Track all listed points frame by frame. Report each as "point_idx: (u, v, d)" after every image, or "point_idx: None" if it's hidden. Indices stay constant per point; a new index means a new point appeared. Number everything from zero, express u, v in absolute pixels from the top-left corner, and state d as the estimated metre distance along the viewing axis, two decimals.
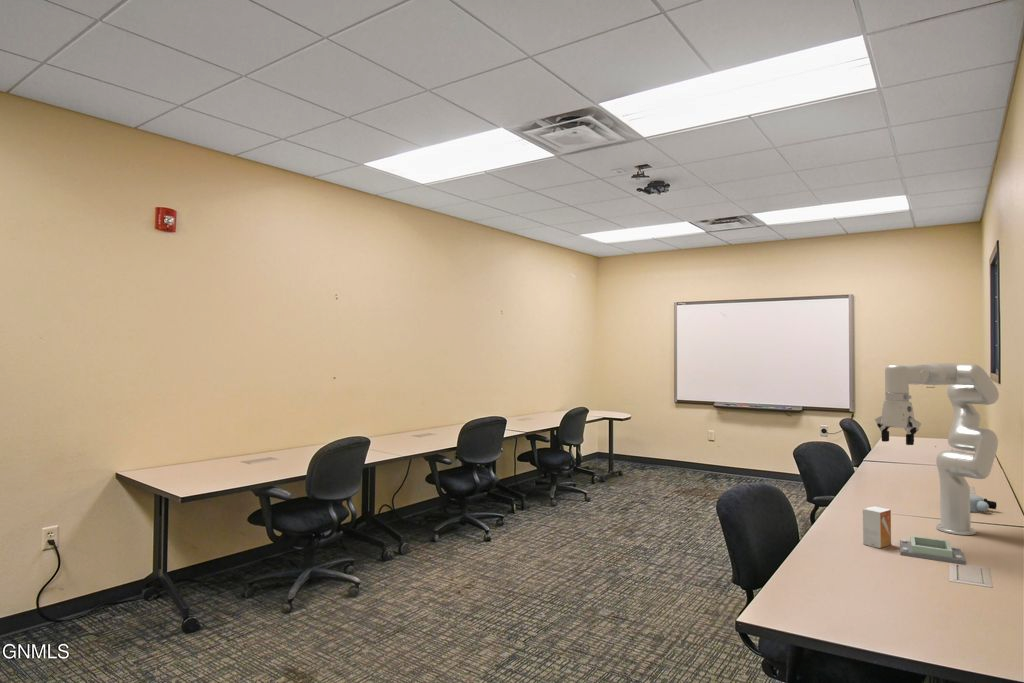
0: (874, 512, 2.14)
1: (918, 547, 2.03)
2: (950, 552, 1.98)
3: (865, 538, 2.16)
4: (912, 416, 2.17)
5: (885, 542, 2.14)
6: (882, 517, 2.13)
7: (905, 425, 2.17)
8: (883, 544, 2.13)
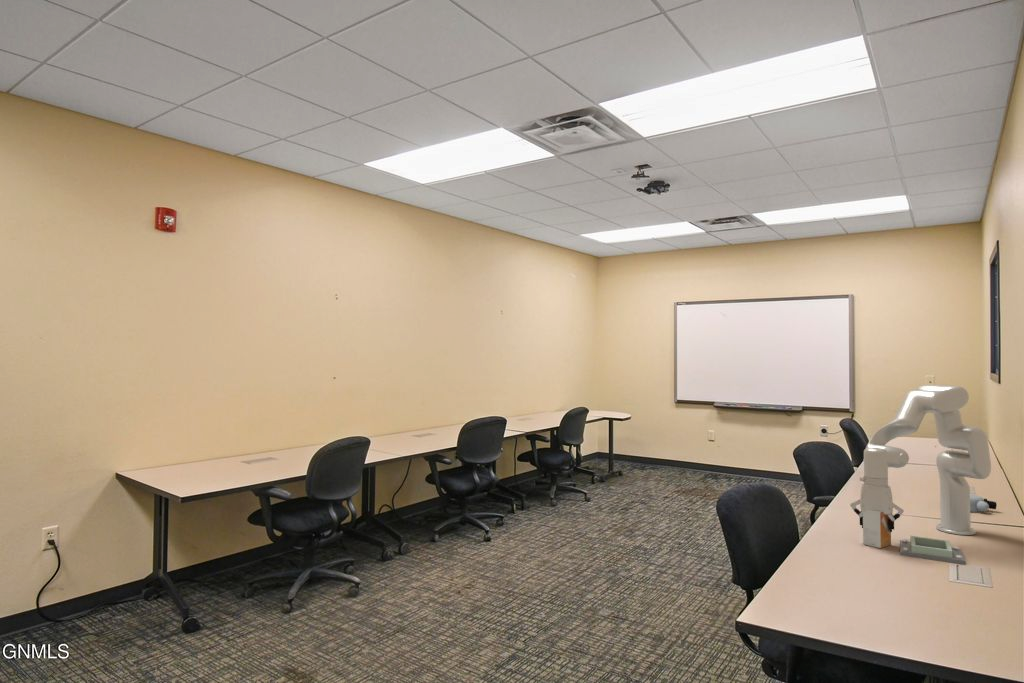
0: (874, 512, 2.14)
1: (918, 547, 2.03)
2: (950, 552, 1.98)
3: (865, 538, 2.16)
4: (860, 498, 2.19)
5: (885, 542, 2.14)
6: (882, 517, 2.13)
7: None
8: (883, 543, 2.13)
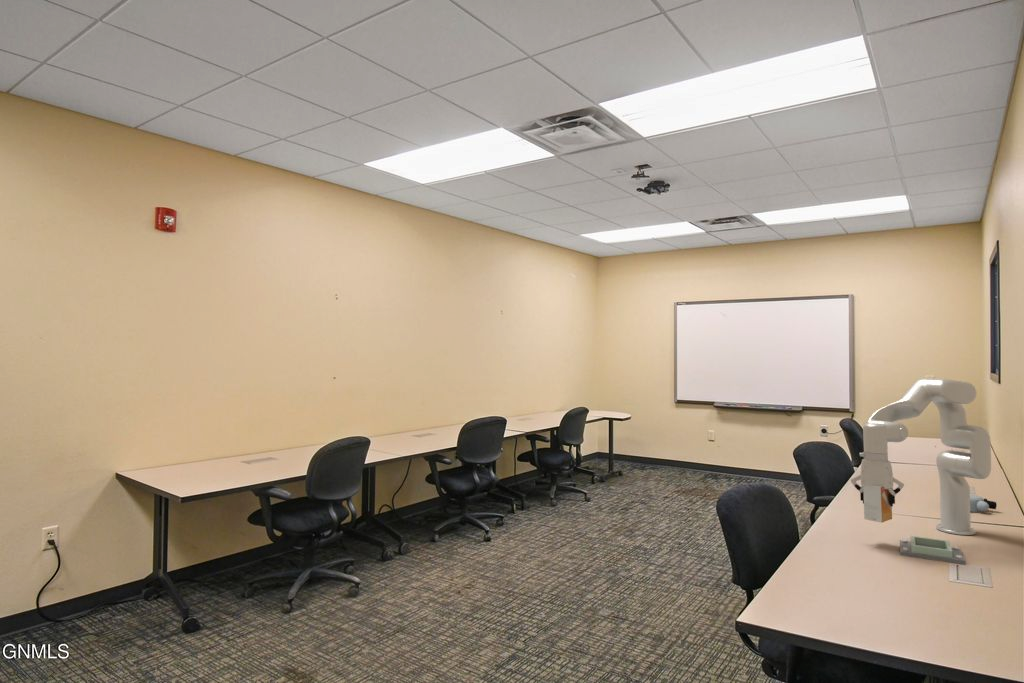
0: (874, 487, 2.14)
1: (918, 547, 2.03)
2: (950, 552, 1.98)
3: (866, 513, 2.17)
4: None
5: (886, 516, 2.14)
6: (882, 492, 2.13)
7: None
8: (884, 518, 2.13)
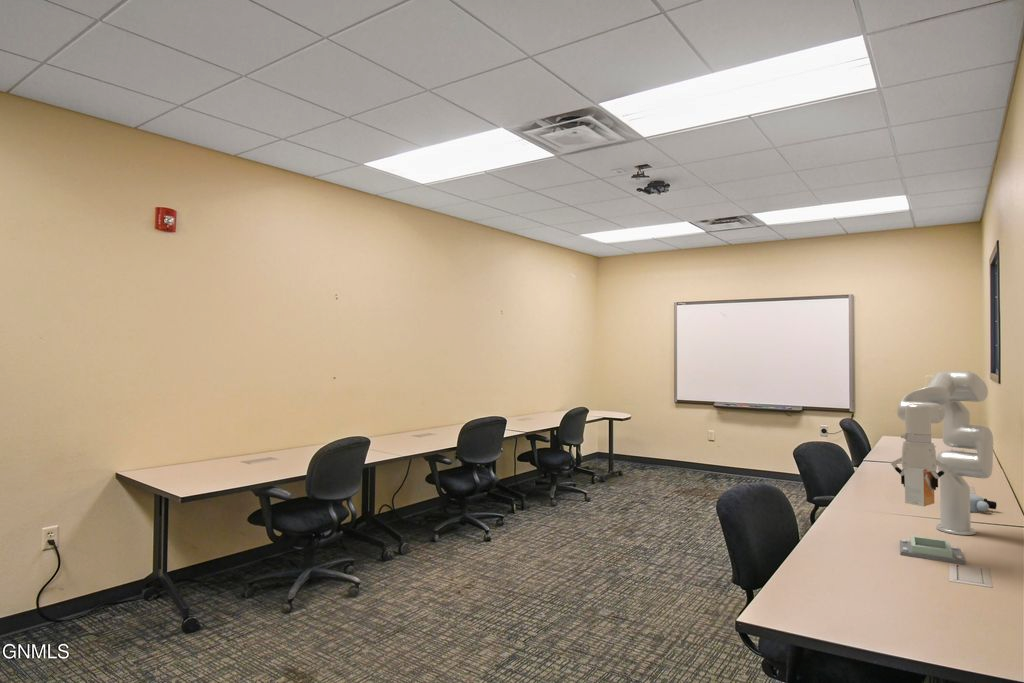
0: (917, 469, 2.06)
1: (918, 547, 2.03)
2: (950, 552, 1.98)
3: (907, 497, 2.09)
4: None
5: (928, 500, 2.06)
6: (925, 475, 2.05)
7: None
8: (926, 502, 2.05)
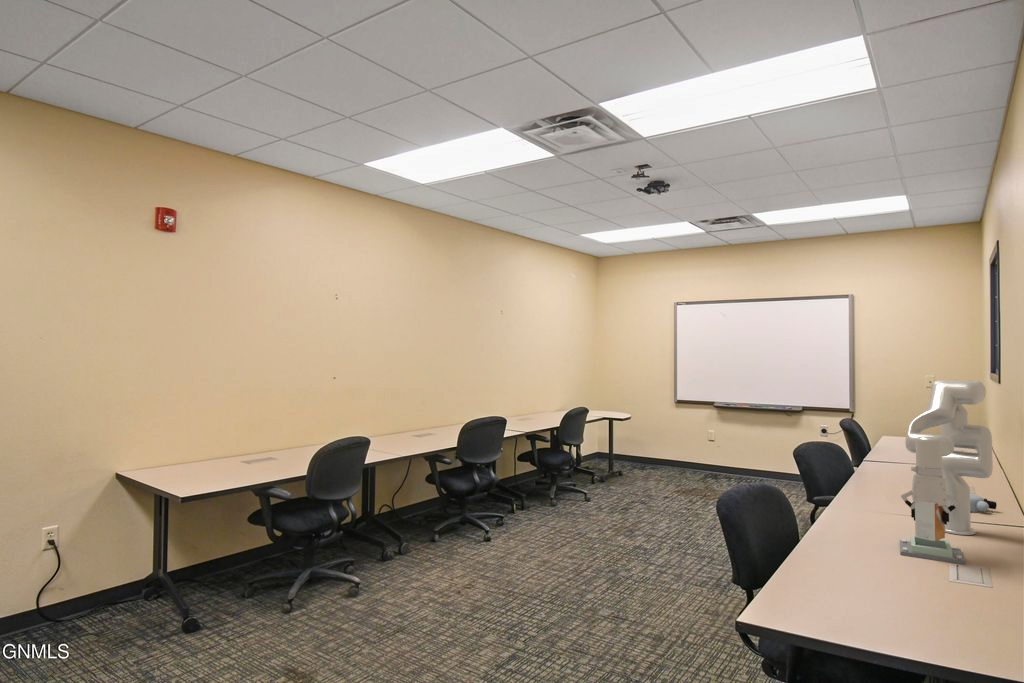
0: (928, 503, 2.04)
1: (918, 547, 2.03)
2: (950, 552, 1.98)
3: (918, 531, 2.06)
4: (912, 489, 2.09)
5: (939, 535, 2.04)
6: (936, 509, 2.03)
7: None
8: (937, 537, 2.03)
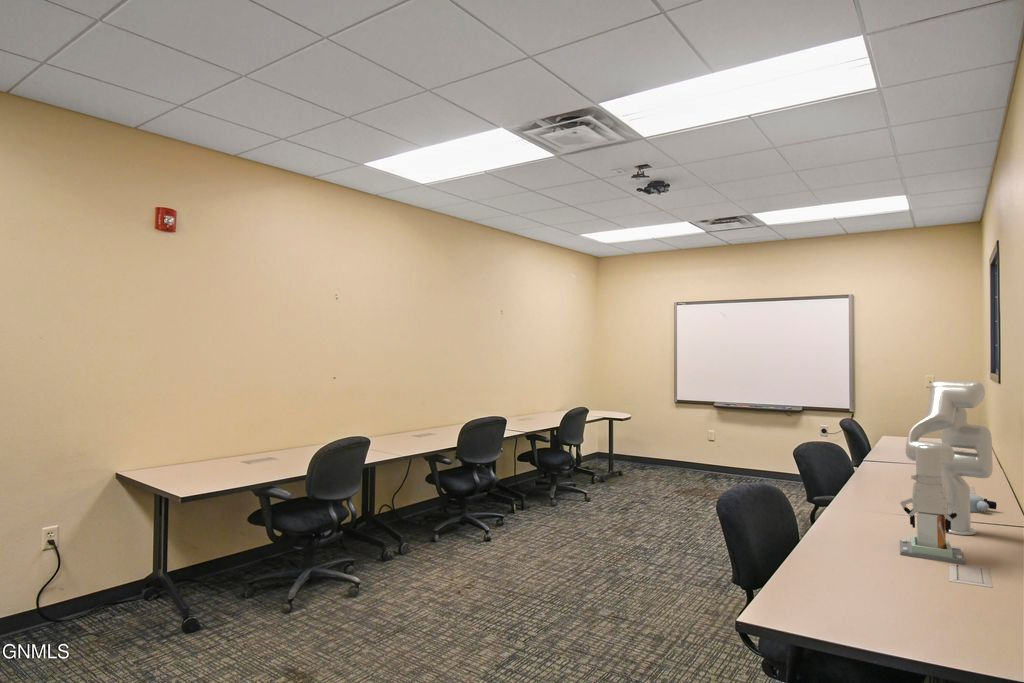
0: (930, 516, 2.04)
1: (918, 547, 2.03)
2: (950, 552, 1.98)
3: (920, 543, 2.06)
4: (912, 498, 2.09)
5: (941, 547, 2.04)
6: (938, 522, 2.03)
7: None
8: None
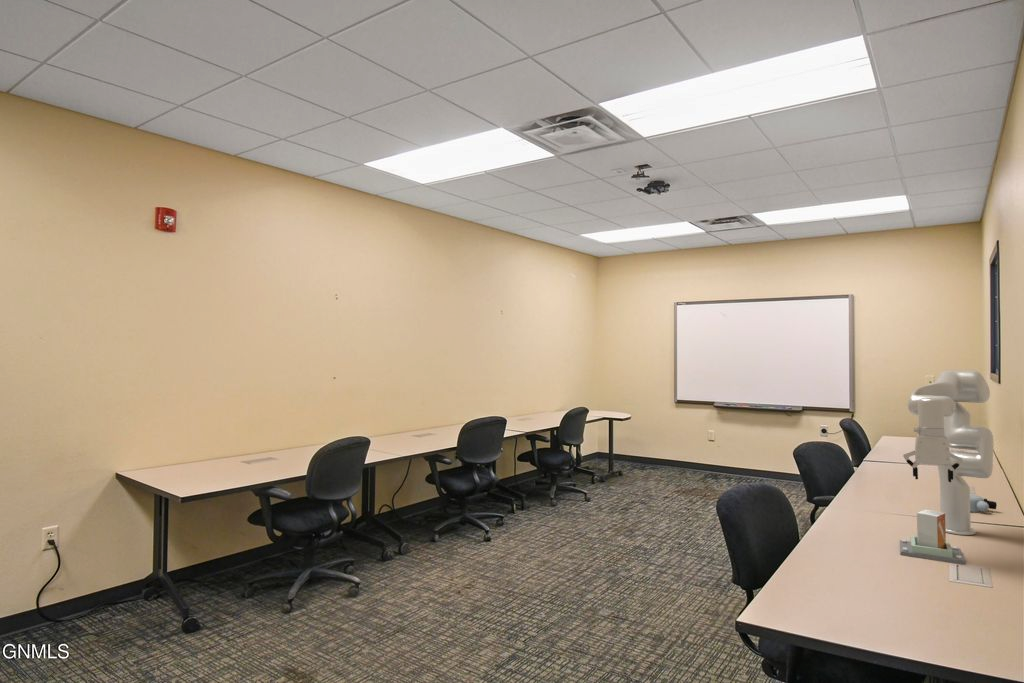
0: (930, 516, 2.04)
1: (918, 547, 2.03)
2: (950, 552, 1.98)
3: (920, 543, 2.06)
4: (915, 450, 2.12)
5: (941, 547, 2.04)
6: (938, 522, 2.03)
7: None
8: None
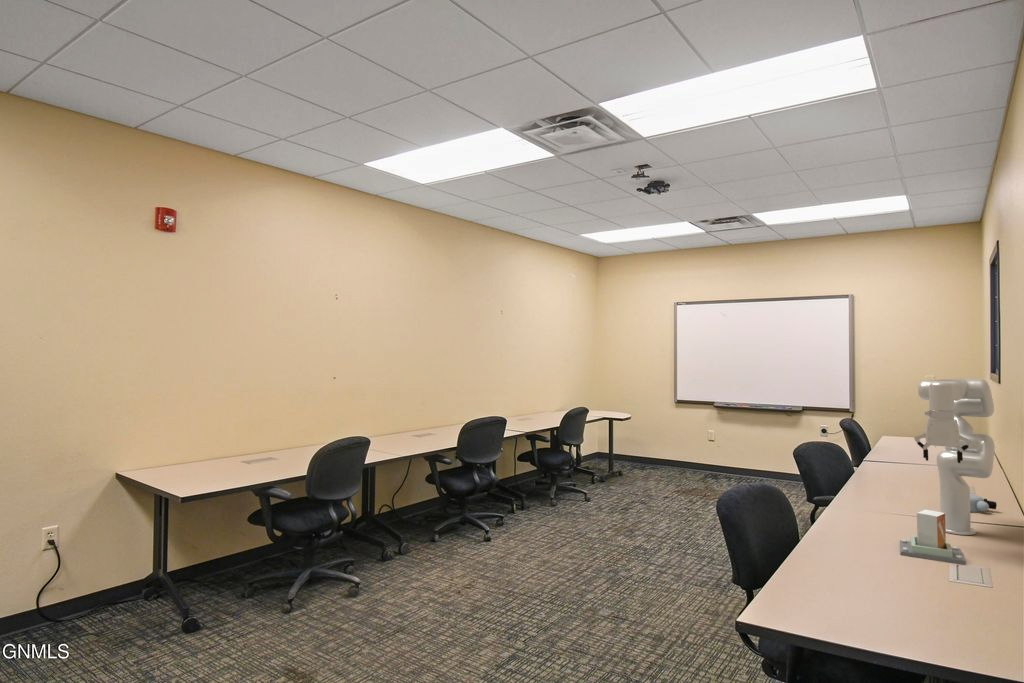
0: (930, 516, 2.04)
1: (918, 547, 2.03)
2: (950, 552, 1.98)
3: (920, 543, 2.06)
4: None
5: (941, 547, 2.04)
6: (938, 522, 2.03)
7: None
8: None
